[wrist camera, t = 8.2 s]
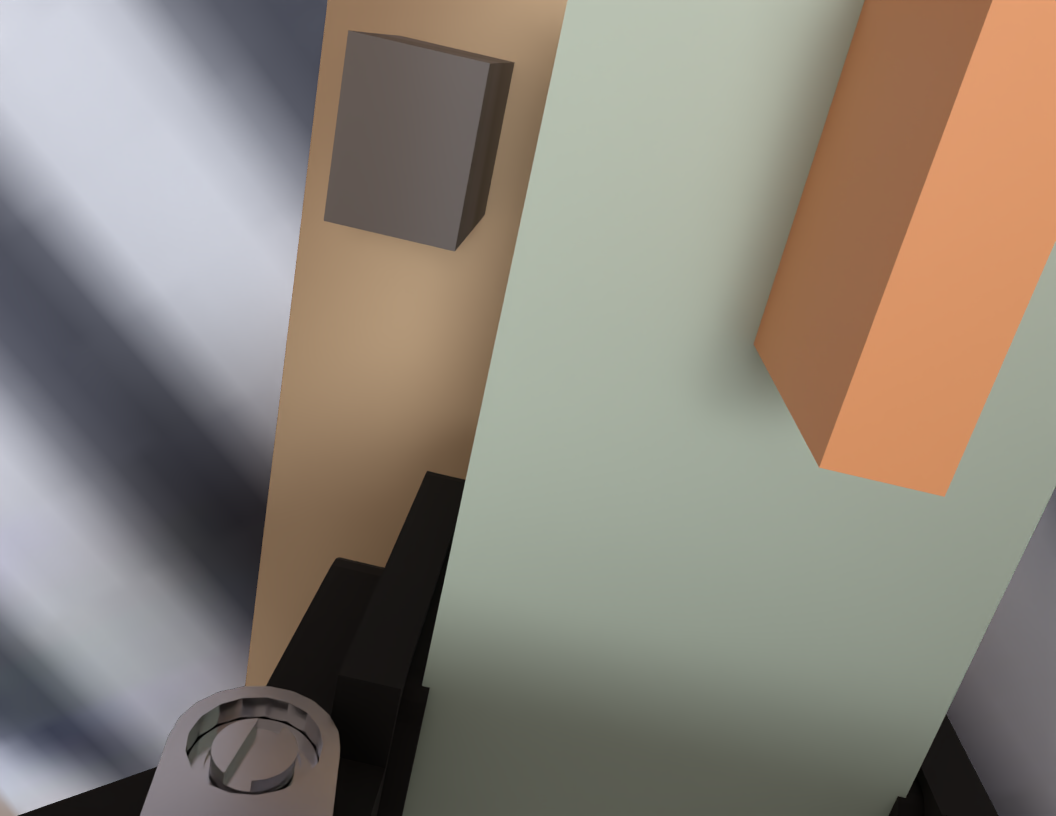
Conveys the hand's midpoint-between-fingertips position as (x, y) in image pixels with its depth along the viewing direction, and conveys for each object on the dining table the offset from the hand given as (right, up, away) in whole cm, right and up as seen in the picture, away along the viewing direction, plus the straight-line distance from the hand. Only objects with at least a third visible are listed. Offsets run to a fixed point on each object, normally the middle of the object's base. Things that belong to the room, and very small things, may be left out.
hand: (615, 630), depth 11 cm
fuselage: (0, 0, 0) cm, 0 cm away
